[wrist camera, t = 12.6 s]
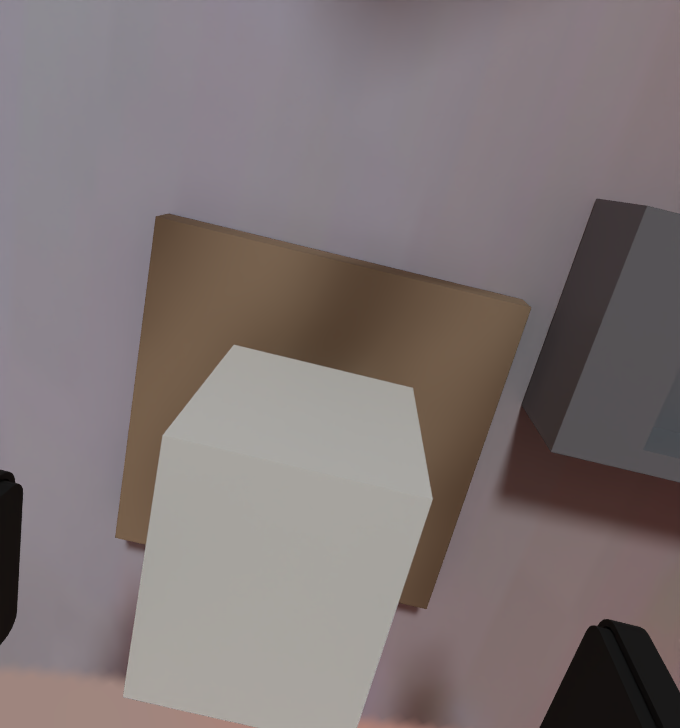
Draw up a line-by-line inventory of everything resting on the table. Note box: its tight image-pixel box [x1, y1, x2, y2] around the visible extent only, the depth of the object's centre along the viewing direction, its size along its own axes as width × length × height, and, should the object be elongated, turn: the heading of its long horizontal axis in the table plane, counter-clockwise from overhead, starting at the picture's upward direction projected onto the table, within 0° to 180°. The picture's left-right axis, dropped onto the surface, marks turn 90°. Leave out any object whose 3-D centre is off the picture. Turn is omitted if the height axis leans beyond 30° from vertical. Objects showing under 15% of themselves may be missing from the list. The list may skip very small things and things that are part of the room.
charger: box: [123, 345, 433, 728], centre depth 14 cm, size 4×6×7 cm
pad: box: [115, 214, 531, 609], centre depth 17 cm, size 10×10×1 cm
